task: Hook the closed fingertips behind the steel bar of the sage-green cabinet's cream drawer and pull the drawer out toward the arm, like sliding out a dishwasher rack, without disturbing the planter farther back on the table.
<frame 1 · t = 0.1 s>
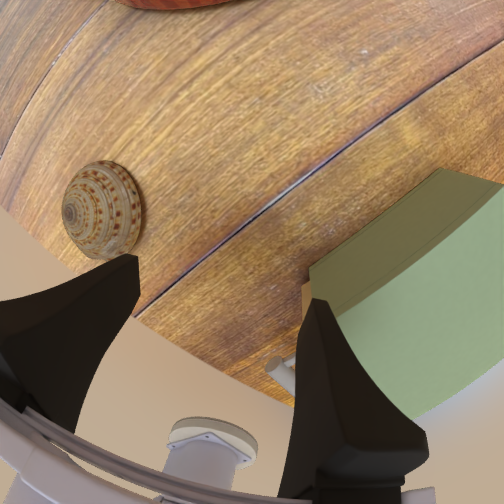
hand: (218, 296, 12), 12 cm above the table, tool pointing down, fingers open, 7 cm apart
seashell: (108, 209, 24), on the table
drawer: (386, 332, 20), point 4 cm above the table, slide at 0.0 cm
cabinet: (413, 275, 22), on the table
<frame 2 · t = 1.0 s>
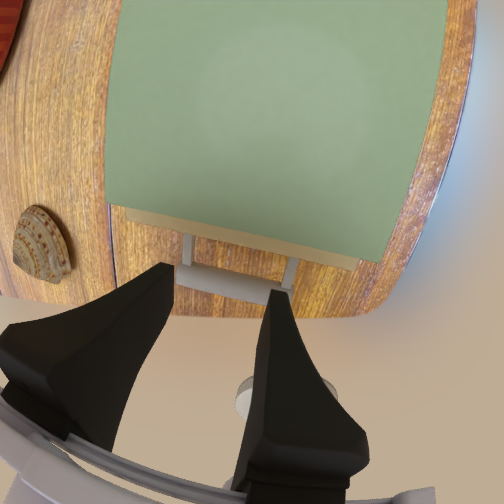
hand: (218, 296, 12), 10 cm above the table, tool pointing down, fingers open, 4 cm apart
seashell: (49, 240, 26), on the table
drawer: (259, 150, 15), point 4 cm above the table, slide at 0.0 cm
cabinet: (280, 77, 16), on the table
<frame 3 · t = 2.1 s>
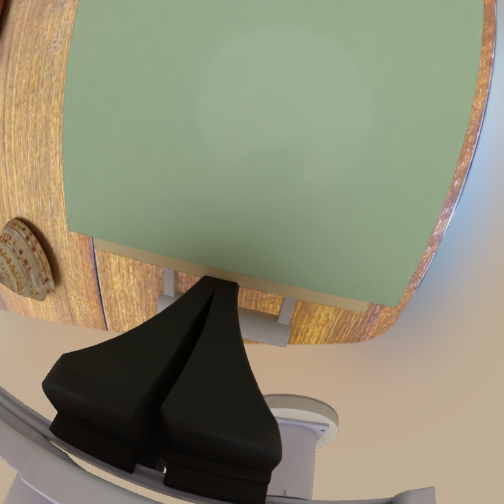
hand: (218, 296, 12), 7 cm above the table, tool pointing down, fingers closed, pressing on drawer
seashell: (32, 254, 23), on the table
drawer: (251, 164, 12), point 4 cm above the table, slide at 0.0 cm, touching cabinet, gripper
cabinet: (277, 75, 14), on the table
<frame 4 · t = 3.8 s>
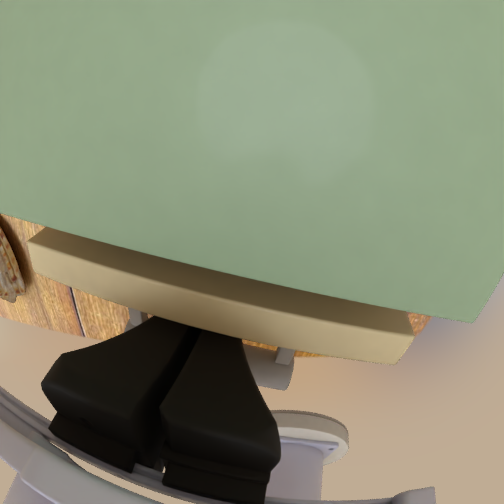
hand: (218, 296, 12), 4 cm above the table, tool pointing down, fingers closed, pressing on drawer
seashell: (3, 250, 19), on the table
drawer: (237, 152, 8), point 4 cm above the table, slide at 1.4 cm, touching gripper
cabinet: (280, 15, 9), on the table
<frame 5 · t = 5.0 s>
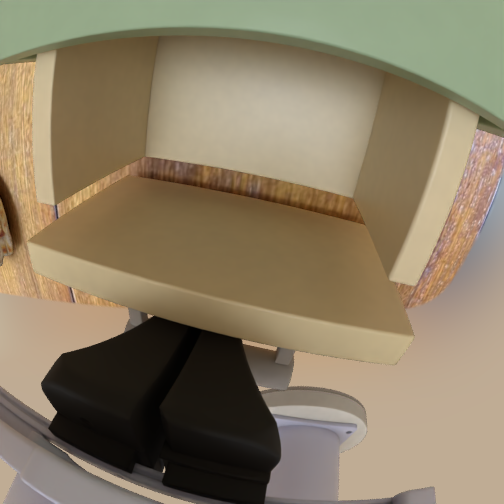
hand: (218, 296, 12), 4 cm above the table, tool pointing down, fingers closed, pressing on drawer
drawer: (237, 153, 8), point 4 cm above the table, slide at 5.4 cm, touching gripper
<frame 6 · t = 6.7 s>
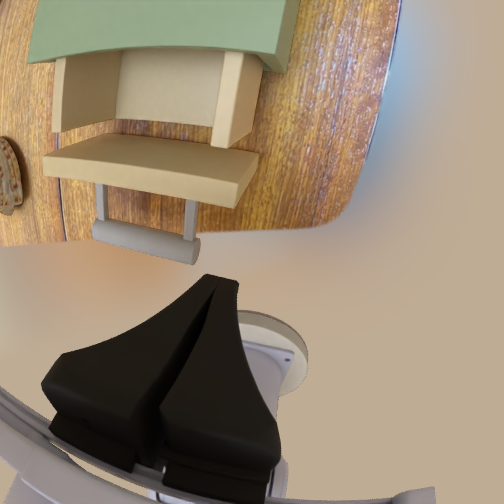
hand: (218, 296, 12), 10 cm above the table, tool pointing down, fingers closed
seashell: (8, 172, 22), on the table
drawer: (156, 105, 14), point 4 cm above the table, slide at 5.4 cm
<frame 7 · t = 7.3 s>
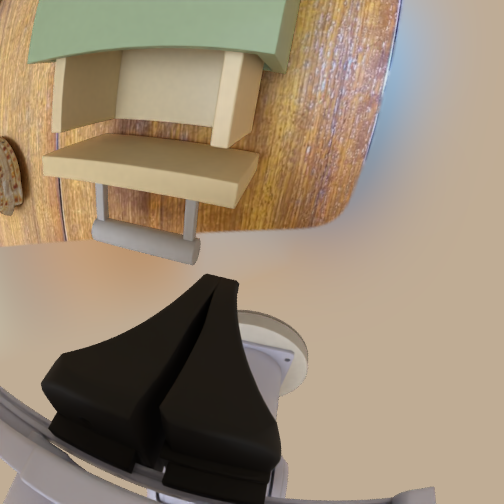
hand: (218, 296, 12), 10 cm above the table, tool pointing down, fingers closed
seashell: (8, 172, 22), on the table
drawer: (156, 105, 14), point 4 cm above the table, slide at 5.4 cm
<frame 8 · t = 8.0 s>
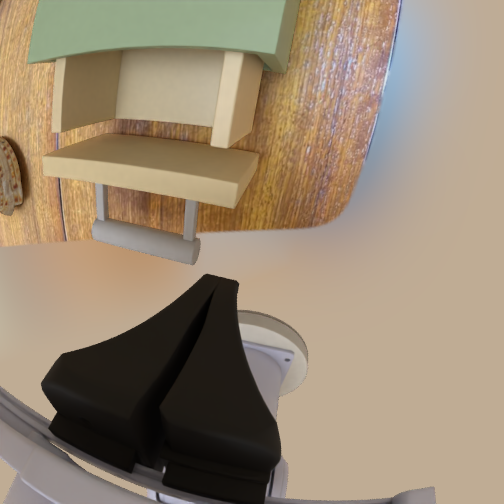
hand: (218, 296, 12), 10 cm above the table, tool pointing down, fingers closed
seashell: (8, 172, 22), on the table
drawer: (156, 105, 14), point 4 cm above the table, slide at 5.4 cm
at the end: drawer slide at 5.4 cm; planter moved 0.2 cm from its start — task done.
